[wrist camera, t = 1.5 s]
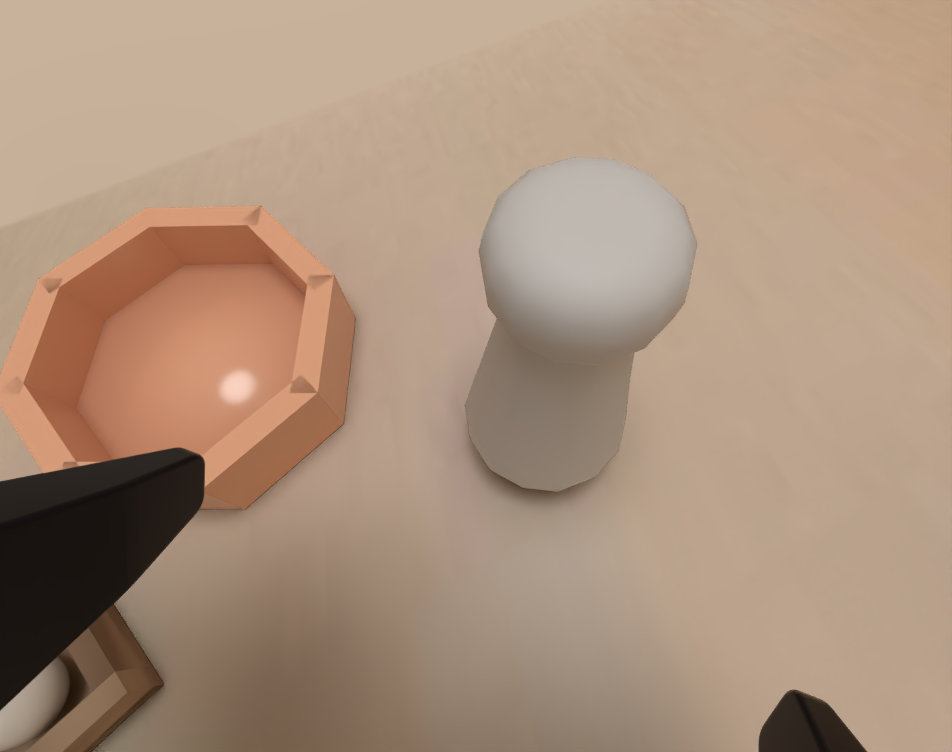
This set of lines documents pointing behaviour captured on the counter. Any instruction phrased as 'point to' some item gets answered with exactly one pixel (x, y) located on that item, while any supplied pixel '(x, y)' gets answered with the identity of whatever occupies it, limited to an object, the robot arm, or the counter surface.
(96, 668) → the pebble tray
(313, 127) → the counter surface
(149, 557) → the robot arm
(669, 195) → the salt shaker
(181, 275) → the bowl
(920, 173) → the counter surface
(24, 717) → the pebble
